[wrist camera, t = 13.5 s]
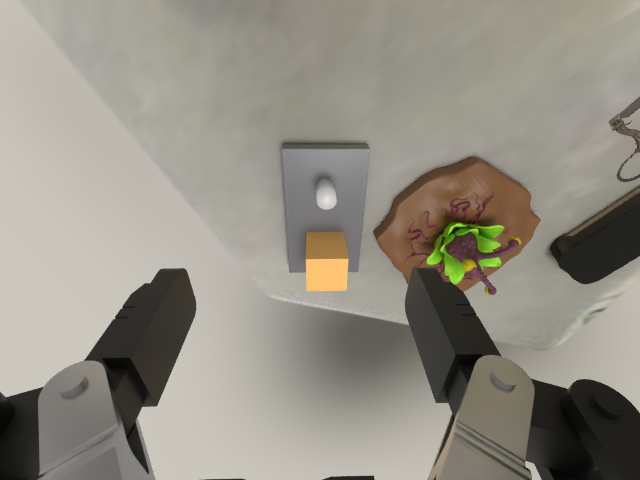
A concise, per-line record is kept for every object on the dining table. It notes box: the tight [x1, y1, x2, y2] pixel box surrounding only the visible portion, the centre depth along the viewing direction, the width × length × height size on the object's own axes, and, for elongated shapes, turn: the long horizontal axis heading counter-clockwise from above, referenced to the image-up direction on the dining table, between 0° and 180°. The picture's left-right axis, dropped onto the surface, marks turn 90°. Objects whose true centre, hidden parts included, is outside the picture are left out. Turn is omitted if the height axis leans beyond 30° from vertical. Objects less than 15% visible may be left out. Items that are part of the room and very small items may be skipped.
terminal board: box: [282, 144, 370, 273], centre depth 39 cm, size 18×10×6 cm, turn 0°
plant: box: [374, 157, 540, 295], centre depth 39 cm, size 20×20×11 cm
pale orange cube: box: [306, 232, 348, 291], centre depth 39 cm, size 5×5×6 cm
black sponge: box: [552, 187, 640, 284], centre depth 42 cm, size 16×8×4 cm, turn 139°
